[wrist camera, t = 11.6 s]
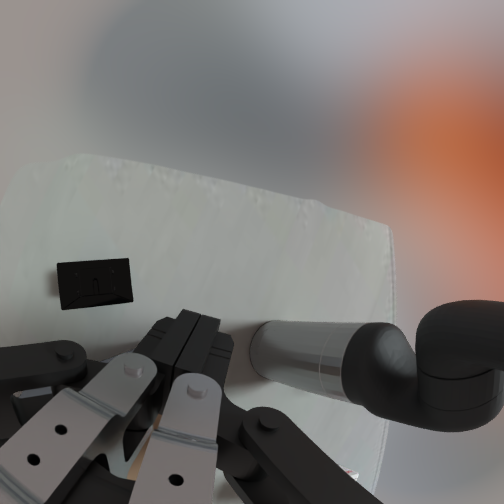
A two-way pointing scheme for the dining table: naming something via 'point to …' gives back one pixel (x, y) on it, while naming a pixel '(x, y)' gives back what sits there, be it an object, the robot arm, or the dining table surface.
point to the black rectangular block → (94, 283)
